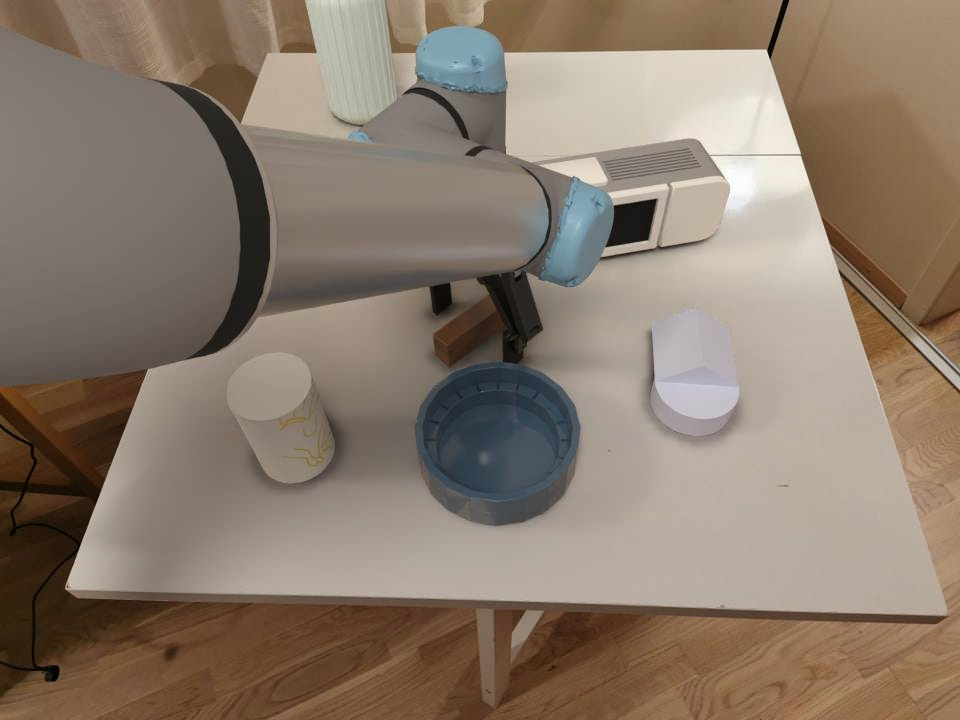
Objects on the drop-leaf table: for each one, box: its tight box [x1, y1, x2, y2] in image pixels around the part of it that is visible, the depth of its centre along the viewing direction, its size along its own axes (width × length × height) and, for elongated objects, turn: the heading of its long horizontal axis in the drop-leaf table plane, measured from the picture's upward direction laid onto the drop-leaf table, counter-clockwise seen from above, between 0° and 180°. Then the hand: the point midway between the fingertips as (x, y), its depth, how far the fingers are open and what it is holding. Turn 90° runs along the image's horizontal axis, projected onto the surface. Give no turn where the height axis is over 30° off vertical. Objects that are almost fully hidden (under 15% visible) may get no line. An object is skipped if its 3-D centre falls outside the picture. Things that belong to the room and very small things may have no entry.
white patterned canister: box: [225, 352, 336, 484], centre depth 73 cm, size 8×8×12 cm
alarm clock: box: [530, 137, 731, 258], centre depth 92 cm, size 27×9×12 cm, turn 102°
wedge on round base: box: [649, 306, 740, 437], centre depth 78 cm, size 9×7×13 cm
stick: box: [432, 293, 505, 368], centre depth 85 cm, size 11×3×4 cm, turn 134°
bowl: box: [414, 361, 581, 527], centre depth 74 cm, size 17×17×6 cm
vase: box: [304, 0, 398, 126], centre depth 109 cm, size 12×12×22 cm
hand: (476, 334), depth 87 cm, fingers open, 12 cm apart
